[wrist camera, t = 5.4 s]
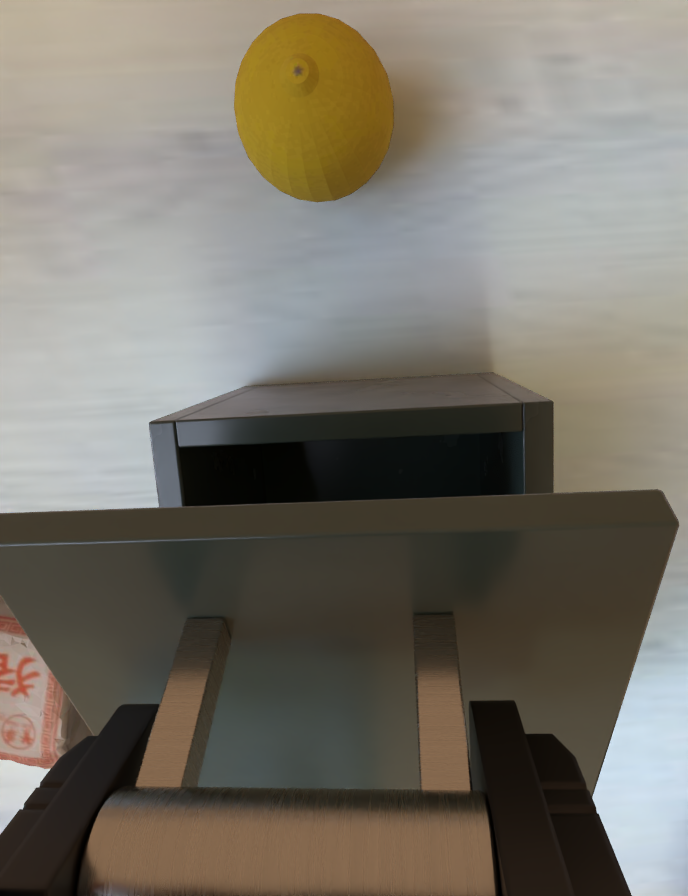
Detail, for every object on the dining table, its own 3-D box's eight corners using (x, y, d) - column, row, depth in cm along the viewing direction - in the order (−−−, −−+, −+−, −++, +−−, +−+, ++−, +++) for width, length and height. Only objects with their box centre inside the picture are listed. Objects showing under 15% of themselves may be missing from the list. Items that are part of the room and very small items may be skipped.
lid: (-13, 511, 11) (-279, 868, 6) (662, 487, 10) (890, 902, 5) (200, 860, 20) (150, 1100, 16) (554, 869, 19) (604, 1131, 15)
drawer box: (243, 386, 28) (147, 421, 17) (494, 372, 27) (554, 400, 16) (270, 678, 31) (202, 862, 20) (499, 676, 29) (554, 871, 19)
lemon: (295, 239, 26) (251, 202, 19) (243, 113, 26) (173, 18, 18) (415, 184, 26) (421, 121, 18) (364, 51, 25) (347, -77, 17)
